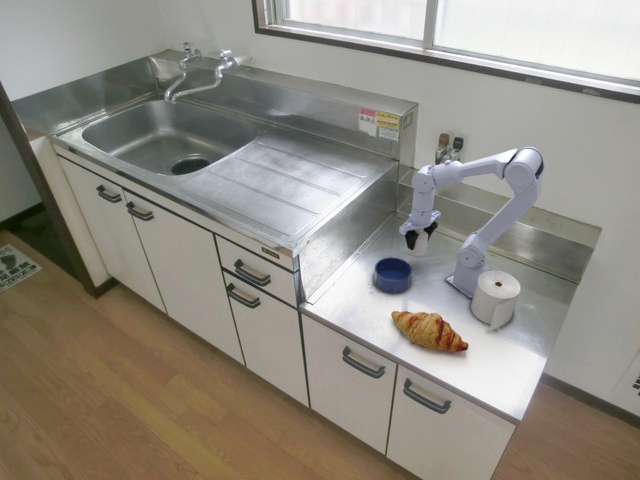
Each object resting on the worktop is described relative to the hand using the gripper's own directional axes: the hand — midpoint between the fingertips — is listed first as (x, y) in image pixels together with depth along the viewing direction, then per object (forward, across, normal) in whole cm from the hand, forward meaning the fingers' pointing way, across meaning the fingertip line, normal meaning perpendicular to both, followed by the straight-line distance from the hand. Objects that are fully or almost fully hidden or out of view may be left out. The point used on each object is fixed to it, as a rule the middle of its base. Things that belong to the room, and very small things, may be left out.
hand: (417, 245), depth 136 cm
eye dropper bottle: (+4, 0, 0) cm, 4 cm away
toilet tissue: (+8, -3, +27) cm, 28 cm away
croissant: (+8, +17, +23) cm, 30 cm away
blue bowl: (+7, +11, +2) cm, 13 cm away
